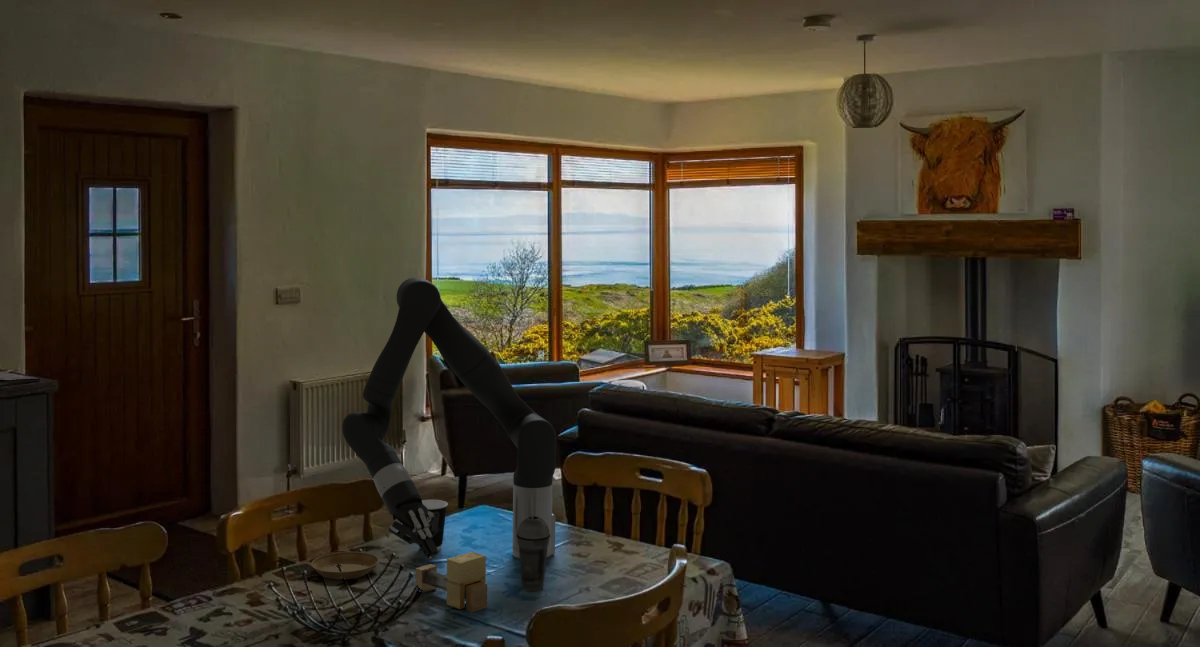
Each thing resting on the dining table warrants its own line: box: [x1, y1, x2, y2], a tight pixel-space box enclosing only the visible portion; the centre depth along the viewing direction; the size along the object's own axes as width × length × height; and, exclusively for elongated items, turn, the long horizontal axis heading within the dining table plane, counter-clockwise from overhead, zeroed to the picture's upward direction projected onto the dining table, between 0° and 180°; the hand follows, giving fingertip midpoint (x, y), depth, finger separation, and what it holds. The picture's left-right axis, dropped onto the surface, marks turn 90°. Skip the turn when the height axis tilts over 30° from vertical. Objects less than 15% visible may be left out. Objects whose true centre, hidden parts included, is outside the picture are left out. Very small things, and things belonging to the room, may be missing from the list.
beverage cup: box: [517, 496, 550, 592], centre depth 233 cm, size 7×7×20 cm
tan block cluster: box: [415, 563, 488, 613], centre depth 226 cm, size 18×9×5 cm, turn 48°
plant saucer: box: [310, 551, 380, 581], centre depth 242 cm, size 15×15×3 cm
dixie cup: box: [422, 499, 449, 551], centre depth 260 cm, size 8×8×11 cm
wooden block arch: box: [446, 551, 487, 610], centre depth 222 cm, size 4×7×10 cm, turn 138°
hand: (433, 556), depth 229 cm, fingers closed
